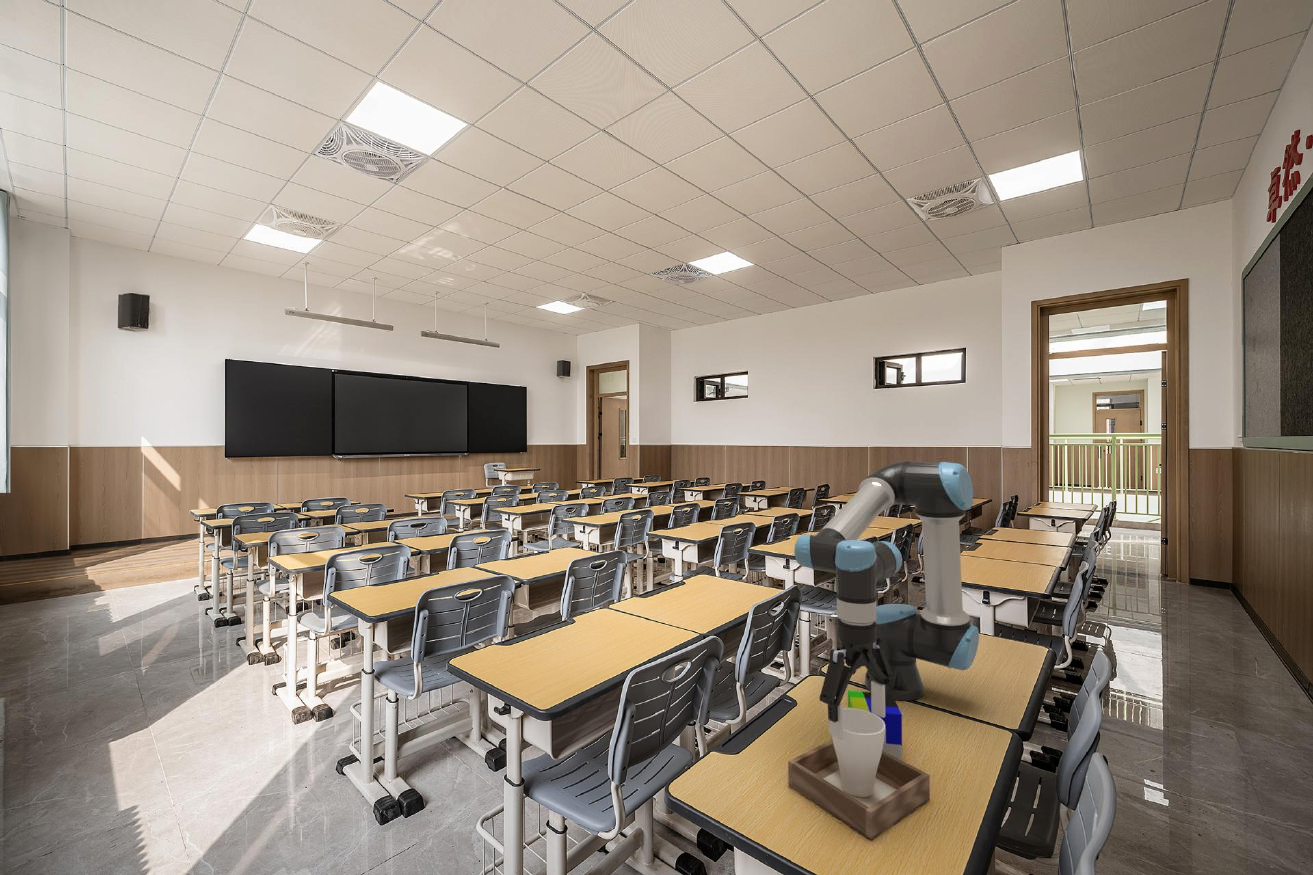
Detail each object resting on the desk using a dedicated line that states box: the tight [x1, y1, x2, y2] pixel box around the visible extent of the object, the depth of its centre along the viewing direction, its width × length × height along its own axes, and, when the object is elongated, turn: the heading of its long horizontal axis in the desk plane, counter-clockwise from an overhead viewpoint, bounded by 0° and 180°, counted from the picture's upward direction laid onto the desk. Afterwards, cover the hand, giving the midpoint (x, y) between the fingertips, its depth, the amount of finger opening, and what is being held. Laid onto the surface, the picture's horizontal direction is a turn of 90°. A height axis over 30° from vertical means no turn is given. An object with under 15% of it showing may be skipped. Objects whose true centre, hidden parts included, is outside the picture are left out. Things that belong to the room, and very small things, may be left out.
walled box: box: [787, 739, 931, 842], centre depth 111 cm, size 19×19×5 cm
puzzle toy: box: [847, 690, 903, 761], centre depth 128 cm, size 10×10×10 cm
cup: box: [831, 707, 885, 798], centre depth 111 cm, size 10×10×14 cm
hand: (858, 725), depth 111 cm, fingers open, 13 cm apart
